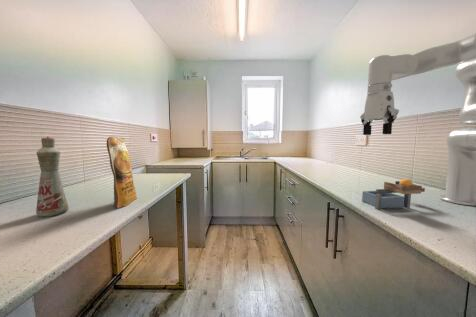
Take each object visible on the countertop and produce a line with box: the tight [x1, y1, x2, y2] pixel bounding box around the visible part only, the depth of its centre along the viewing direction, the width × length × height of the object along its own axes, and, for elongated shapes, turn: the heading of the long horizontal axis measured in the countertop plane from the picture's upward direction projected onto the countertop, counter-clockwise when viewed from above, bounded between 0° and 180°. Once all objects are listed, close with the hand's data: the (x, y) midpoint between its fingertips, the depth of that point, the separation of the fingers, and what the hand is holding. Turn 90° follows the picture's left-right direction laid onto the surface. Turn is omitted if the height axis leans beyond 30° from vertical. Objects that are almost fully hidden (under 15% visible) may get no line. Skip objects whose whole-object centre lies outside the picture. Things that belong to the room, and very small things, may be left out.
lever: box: [375, 180, 426, 195], centre depth 80 cm, size 18×22×4 cm
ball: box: [399, 178, 414, 186], centre depth 73 cm, size 4×4×4 cm
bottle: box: [35, 136, 70, 218], centre depth 72 cm, size 9×9×28 cm
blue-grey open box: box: [361, 190, 404, 210], centre depth 83 cm, size 10×10×4 cm
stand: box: [374, 194, 412, 211], centre depth 78 cm, size 2×14×6 cm, turn 97°
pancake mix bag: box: [106, 136, 138, 209], centre depth 85 cm, size 7×19×28 cm, turn 5°
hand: (376, 134), depth 80 cm, fingers open, 9 cm apart
